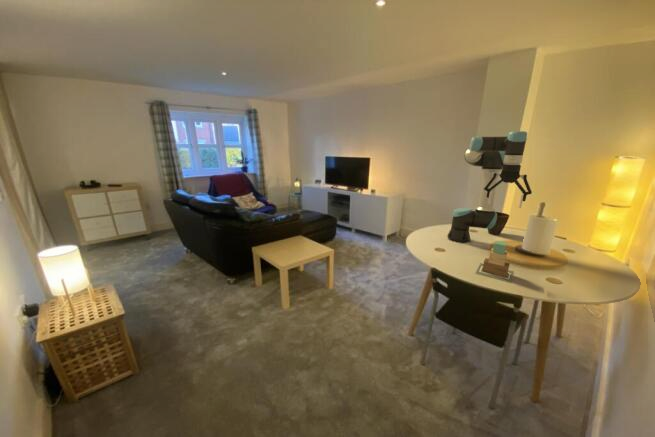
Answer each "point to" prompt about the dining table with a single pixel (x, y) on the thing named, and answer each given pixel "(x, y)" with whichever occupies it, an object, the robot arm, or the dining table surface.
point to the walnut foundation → (495, 268)
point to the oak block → (497, 258)
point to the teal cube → (499, 247)
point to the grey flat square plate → (508, 279)
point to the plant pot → (499, 223)
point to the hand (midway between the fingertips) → (503, 205)
